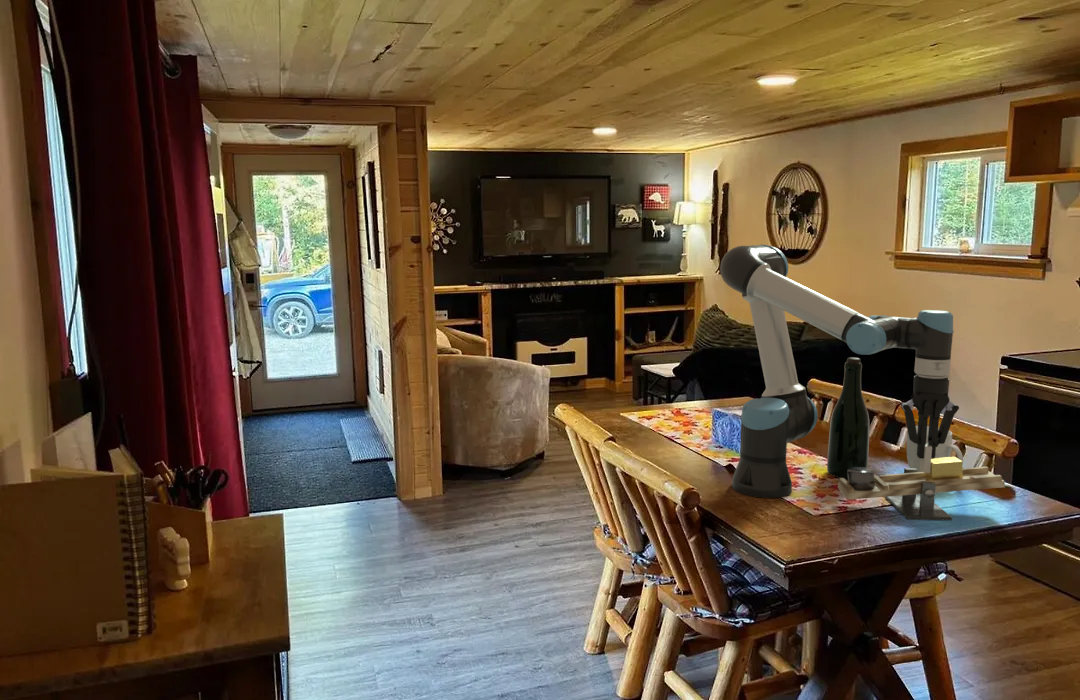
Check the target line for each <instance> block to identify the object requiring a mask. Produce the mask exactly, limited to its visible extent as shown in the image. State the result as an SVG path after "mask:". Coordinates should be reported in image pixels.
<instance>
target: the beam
mask: <svg viewBox="0 0 1080 700" xmlns="http://www.w3.org/2000/svg"><path fill="white" fill-rule="evenodd" d="M962 470H963V478H954V479H942V480H929V481H928V480H927V479H926V473H923V472H913V473H904V472H901V473H891V474H880V475H877V474H874V482H875V488H874V489H872V490H868V491H857V490H854V488H853V487H852V486H851V485H850V484H849V483H848V480H847V479H844V478H839V482H838V483H837V488H838V490H839V491H840V492H841V494H843V496H844V497H845V498H846V499H847V500H848V501H849V500H861V499H873V498H874V499H875V498H885V497H888V496H901V495H913V494H916V495H920V493H921V482H934V483H936V487H935V494H936V493H949V492H961V491H962V492H963V491H974V490H985V489H986V490H987V489H997V488H1006V482H1005V480H1004V479H1003V476H1002V475H1001V474H994V473H992V472H991V471H989V467H988V466H977V467H976V466H974V467H965V468H963V467H962Z"/></svg>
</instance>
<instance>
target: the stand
mask: <svg viewBox="0 0 1080 700" xmlns="http://www.w3.org/2000/svg"><path fill="white" fill-rule="evenodd" d="M903 469H904V470H903V473H913V472H918V469H916V468H909V467H904V468H903ZM935 487H936V483H934V482H921V493H920V494H913V495H901V496H888V497H884V498H885V499H886V500H887V501H888V502H889V503H890V504H891V505H892V506H893V507H894V508H896V509H897V511H898V512H899V513H900V514H902V515H903V516H904V517H905V518H906V519H907V520H912V521H913V520H916V521H917V520H920V521H921V520H923V521H925V520H926V521H951V522H952V520H953V517H952V516H951V515H950V514H949V513H948V512H946V511H945V510H944V509H943V508H942V507H940V506H939V505H938V504H937V503H936V502H935V497H936V493H935Z"/></svg>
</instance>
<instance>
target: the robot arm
mask: <svg viewBox="0 0 1080 700" xmlns="http://www.w3.org/2000/svg"><path fill="white" fill-rule="evenodd" d="M719 266H720V267H719V269H720V271H719V272H720V276H721V278H722V280H723V282H724V283H725V285H727V286H728V287H729V288H731V289H732V290H735V291H736V292H738V293H740V294H741V297H742V299H743V300H745V301H746V302H747V303H749V307H750V312H751V313H750V314H751V318H752V322H753V327H754V334H755V337H756V338H755V339H756V342H757V348H758V351H759V352H758V353H759V359H760V364H761V369H762V373H763V378H764V384H765V390H764V391H763V393H762V394H761V397H760V398H753V399H750V400H748V401H747V402H745V403H744V404H743V406H742V409H741V415H740V422H741V423H740V443H739V444H740V445H739V446H740V450H739V452H740V453H739V460H738V462H737V466H736V468H735V470H734V473H733V476H732V481H731V487H732V489H733V490H734V491H736V492H737V493H740V494H742V495H745V496H749V497H756V498H764V499H776V498H782V497H786V496H789V495H790V494H791V493H792V492H793V491H792V490H793V489H792V488H793V481H792V479H791V476H790V471H789V467H788V464H787V448H788V447H787V446H788V444H789V443H791V442H794V441H795V440H801V439H802V438H804V437H806V436H807V435H809V434H810V433H811V432H812V431H813V430H814V428H815V427H816V424H817V422H818V410H817V406H816V404H815V403H814V402H813V400H811V399H810V398H809V397H808V395H807V390H806V387H805V386H803V385H802V384H801V383H799V380H798V374H797V369H796V362H795V359H794V355H793V349H792V343H791V339H790V334H789V330H788V324H787V319H786V314H785V312H786V313H788V314H790V315H792V316H794V317H795V318H798V319H800V320H802V321H804V322H805V323H808V324H809V325H811V326H813V327H816V328H817V329H818V330H821V331H822V332H825V333H827V334H829V335H831V336H833V337H835V338H837V339H839V340H841V341H842V342H845V344H847V346H848V348H849V349H850V350H851V351H852V352H853V353H855V354H857V355H867V356H869V355H873V354H876V353H879V352H881V351H884V350H888V349H893V348H898V349H909V350H915V361H914V369H913V371H914V373H915V375H914V376H913V387H912V388H913V391H912V395H911V396H910V400H908V401H906V402H901V403H900V408H901V409H902V411H903V413H904V417H905V424H906V428H907V434H909V439H910V440H911V441H912V442H913V443H916V444H917V457H918V458H920V470H921V471H922V472H923V473H930V468H931V459H934V458H935V453H936V447H938V444H944V443H945V440H946V437H947V434H948V432H949V431H950V428H951V425H952V423H953V419H954V416H955V415H956V413H957V412H958V411H959V410H960V406H959V405H957V404H955V403H953V402H952V401H951V400H950V397H949V394H948V393H949V389H950V378H949V377H948V376H949V375H950V374H951V361H952V359H951V357H952V347H953V336H954V315H953V313H951V312H949V311H948V310H938V309H937V310H936V309H935V310H933V309H924V310H920V311H919V312H918V314H917V317H905V316H904V317H902V316H901V317H900V316H890V315H884V314H881V315H870V316H866V315H865V314H862V313H860V312H859V311H856V310H854V309H852V308H850V307H848V306H846V305H844V304H841V303H840V302H838V301H836V300H833V299H831V298H829V297H827V296H825V295H823V294H822V293H819V292H817V291H815V290H813V289H811V288H809V287H807V286H805V285H802V284H801V283H798V282H796V281H795V280H792V279H790V278H789V277H787V275H788V273H789V263H788V259H787V258H786V256H785V254H784V253H783V252H782V250H780V249H779V248H777V247H775V246H772V245H767V244H755V245H754V244H753V245H738V246H735V247H732V248H731V249H729V250H728V251H727V252H726V253H725V254H724V256H723V257H722V258H721V261H720V265H719ZM914 407H915V409H916V410H917V416H918V420H917V425H916V422H915V421H916V420H915V416H914V412H913V410H914ZM944 409H945V411H944V413H943V415H942V419H941V413H942V411H943V410H944ZM940 419H941V421H940ZM939 422H940V424H939ZM928 423H929V424H928ZM916 426H918V432H917V431H916ZM927 426H929V432H928V444H926V436H927ZM938 428H939V430H938Z"/></svg>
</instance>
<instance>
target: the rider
mask: <svg viewBox="0 0 1080 700" xmlns="http://www.w3.org/2000/svg"><path fill="white" fill-rule="evenodd" d="M962 468H963V465H962V461H961V460H959V459H958V458H957V457H956V456H950V457H944V458H934V459H931V468H930V473H926V479H927V480H928V481H929V480H942V479H954V478H963V470H962Z"/></svg>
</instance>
